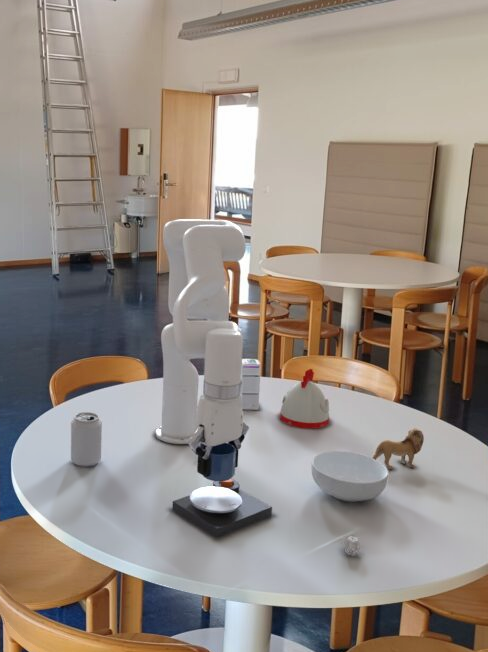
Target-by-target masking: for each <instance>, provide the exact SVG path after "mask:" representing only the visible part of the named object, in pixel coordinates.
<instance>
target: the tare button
mask: <svg viewBox="0 0 488 652" xmlns="http://www.w3.org/2000/svg"><path fill="white" fill-rule="evenodd" d="M233 479H234V478H233V477H232V478H231V479H229V480H227V481H220V485H221V486H224V487H231V486H233Z"/></svg>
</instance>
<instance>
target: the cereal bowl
mask: <svg viewBox="0 0 488 652" xmlns="http://www.w3.org/2000/svg"><path fill="white" fill-rule="evenodd" d="M311 476H312V480H313V481H314V483H315V484H316V485H317V487H318V488H319V489H320V490H322V491H323V492H324V493H326V494H328V495H329V496H331V497H333V498H335V499H337V500H339V501H344V502H348V503H349V502H350V503H357V502H361V501H362V502H364V501H369V500H372V499H375V498H376V497H378V496H380V495H381V494H382V493H383V492H384V490H385V489H386V486H387V483H388V480H389V469H388V468H387V466H386V465H384V464H383V463H382V462H380V461H379V460H378V459H376V460H375V459H373V457H371V456H367V455H364V454H361V453H356V452H352V451H344V450H330V451H324V452H321V453H318V454H316V455H315V456H314V457H313V458H312V461H311Z"/></svg>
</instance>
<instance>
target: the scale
mask: <svg viewBox="0 0 488 652" xmlns="http://www.w3.org/2000/svg"><path fill="white" fill-rule="evenodd" d="M232 479H233V486H231V487H224V486H221V485H220V481H213V483H212V487H222V488H227V489H230V490H232V491H234V492H236V493H237V494H239V495H240V497H241V499H242V504H241V506H240V507H239V508H238V509H237V510H235V511H232V512H227V513H212V512H207V511H203V510H201V509H198V508H196V507H195V506H194V505H193V504H192V503H191V502H190V494H189V495H187V496H184V497H181V498H177V499H175V500H172V509H171V510H172V511H174V512H175V513H177V514H178V515H180V516H181V517H183V518H185V519H186V520H187V521H189V522H191V523H192V524H194V525H196V526H197V527H199V528H200V529H202V530H204V531H205V532H207V533H208V534H210V535H212V536H213V537H215V538H216V539H217V538H220V537H222V536H225V535H227V534H230V533H232V532H235V531H237V530H240V529H242V528H245V527H247V526H250V525H251V524H255V523H257V522H259V521H262V520H264V519H267V518H268V517H272V515H273V514H272V513H273V512H272V511H273V506H271V505H269V504H267V503H266V502H264V501H262V500H260V499H258V498H256V497H254V496H253V495H251V494H250V493H247V492H245V491H243V490H242V489H240V487H241V484H240V483H239V480H238V481H237V480H236V479H234V478H232Z"/></svg>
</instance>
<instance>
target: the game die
mask: <svg viewBox="0 0 488 652" xmlns="http://www.w3.org/2000/svg"><path fill="white" fill-rule="evenodd" d="M342 546H343V548H344V550H345V553H346V555H348V556H352V557H355V556H357V554H358V553H359V552H360V551H361V550H362V546H361V544H360V541H359V539H358V537H357V536H353V535H349V536H348V537H347V538H346V539H344V541H343V543H342Z"/></svg>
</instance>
